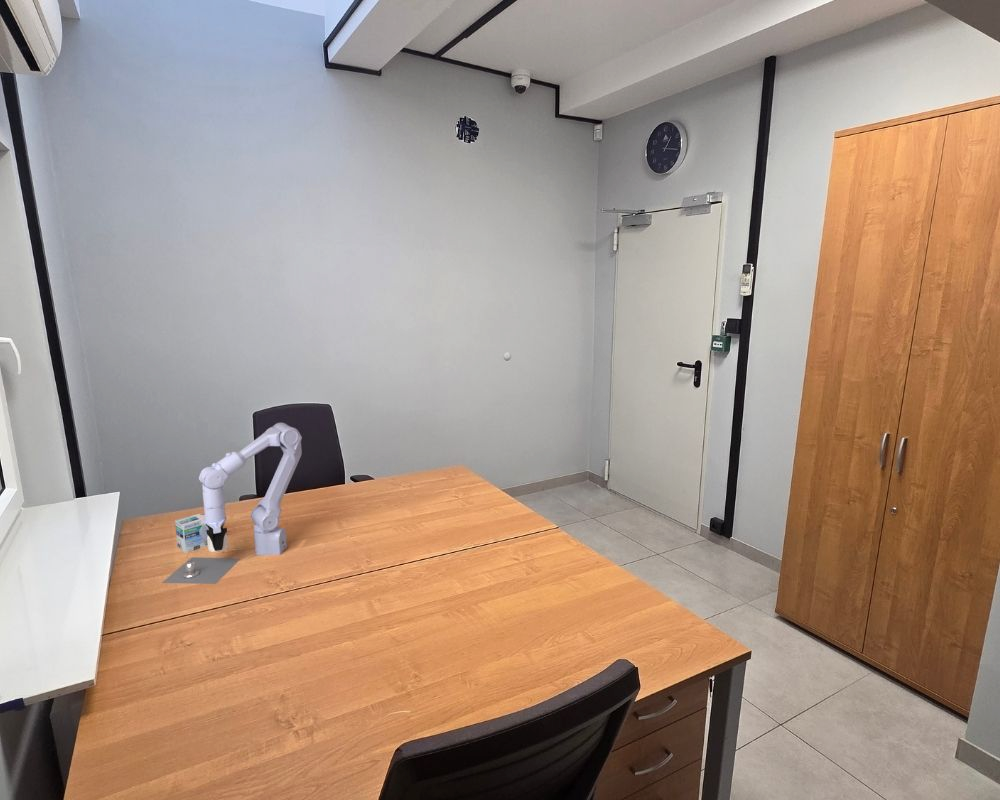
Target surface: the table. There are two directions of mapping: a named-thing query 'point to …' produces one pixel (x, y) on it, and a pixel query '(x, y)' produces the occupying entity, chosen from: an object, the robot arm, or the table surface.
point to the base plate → (204, 570)
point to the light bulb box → (191, 533)
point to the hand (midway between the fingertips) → (217, 545)
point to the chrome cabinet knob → (190, 570)
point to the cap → (210, 545)
